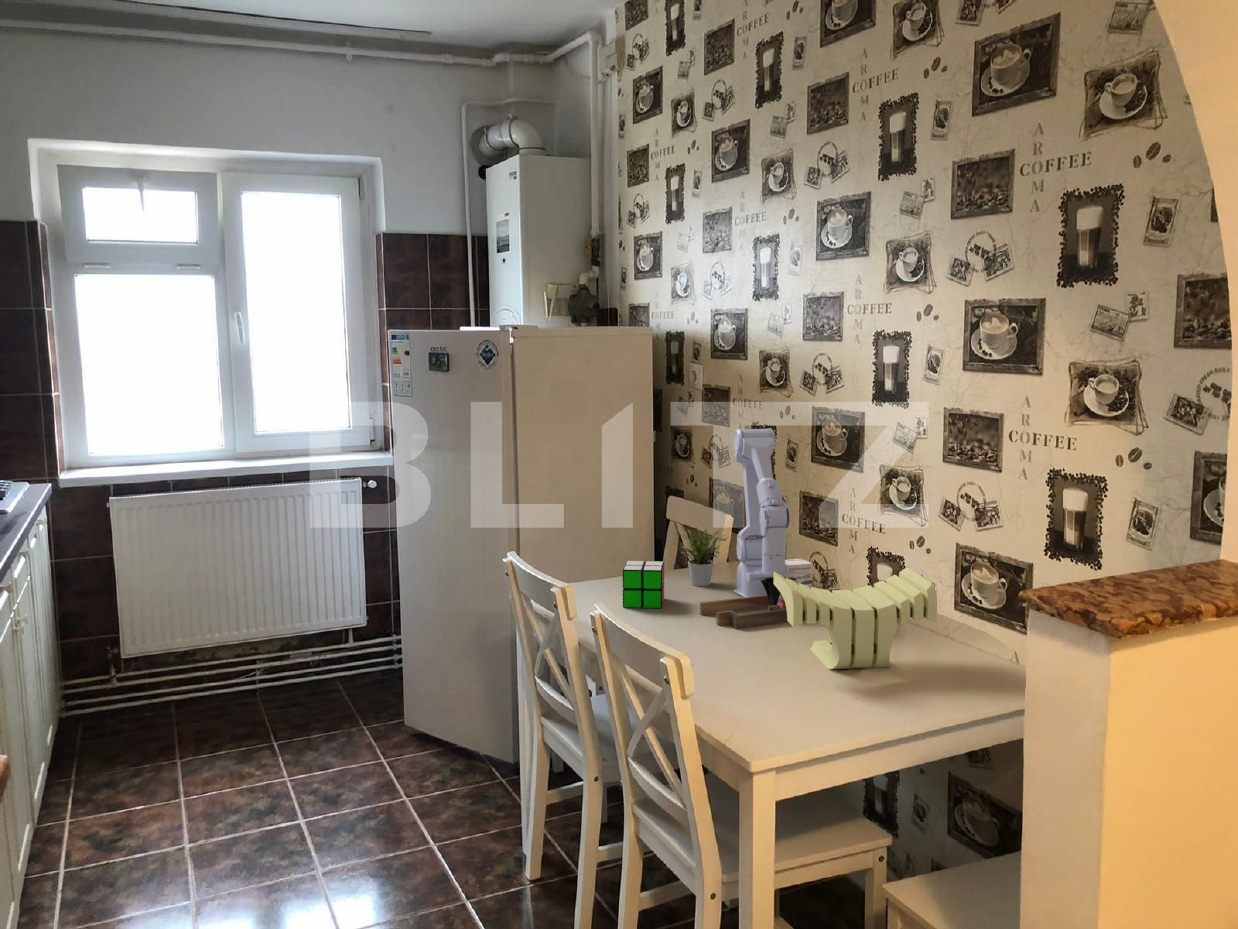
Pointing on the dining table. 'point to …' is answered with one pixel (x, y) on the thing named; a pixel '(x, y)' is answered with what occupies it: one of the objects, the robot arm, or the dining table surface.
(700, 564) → the house plant
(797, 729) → the dining table surface
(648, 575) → the puzzle cube
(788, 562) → the ink box
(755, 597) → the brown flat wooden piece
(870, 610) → the slatted curved stool
